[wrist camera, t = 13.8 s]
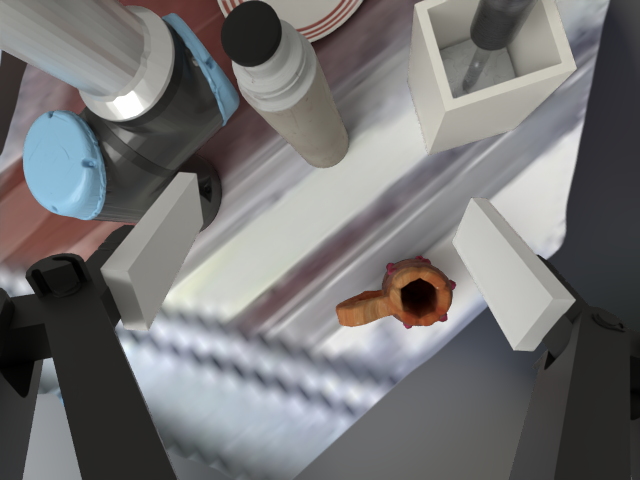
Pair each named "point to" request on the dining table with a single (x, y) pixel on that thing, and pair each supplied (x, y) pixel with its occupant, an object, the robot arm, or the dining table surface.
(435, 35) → the white open box
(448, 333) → the dining table surface
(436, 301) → the mug
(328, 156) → the thermos bottle
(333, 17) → the dinner plate
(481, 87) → the plunger
